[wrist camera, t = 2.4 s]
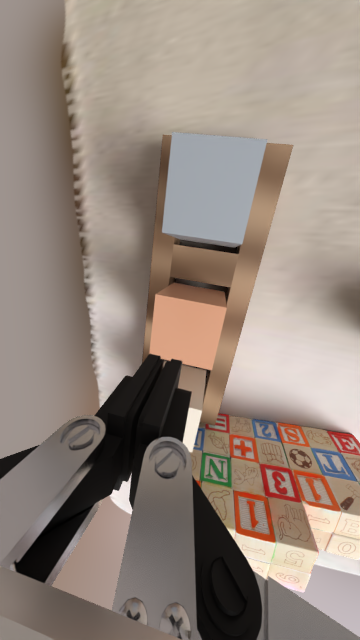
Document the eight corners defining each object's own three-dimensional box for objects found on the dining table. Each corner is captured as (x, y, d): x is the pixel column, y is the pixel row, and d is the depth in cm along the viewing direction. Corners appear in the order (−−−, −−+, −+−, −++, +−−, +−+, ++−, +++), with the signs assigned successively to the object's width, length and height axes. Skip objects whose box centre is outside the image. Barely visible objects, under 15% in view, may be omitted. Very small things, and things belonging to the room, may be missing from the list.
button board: (171, 152, 18) (161, 131, 15) (281, 163, 17) (295, 142, 14) (146, 390, 28) (137, 407, 25) (215, 407, 27) (214, 428, 23)
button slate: (188, 174, 16) (172, 132, 10) (249, 181, 15) (267, 139, 10) (179, 239, 18) (161, 232, 12) (234, 247, 17) (242, 244, 12)
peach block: (173, 282, 19) (155, 294, 14) (224, 291, 18) (226, 307, 13) (167, 328, 21) (149, 355, 15) (213, 338, 20) (211, 370, 15)
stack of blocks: (353, 432, 24) (476, 592, 13) (340, 467, 26) (435, 633, 15) (184, 407, 28) (161, 514, 16) (184, 439, 30) (162, 555, 18)
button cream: (163, 360, 22) (144, 395, 17) (206, 370, 22) (202, 410, 16) (158, 394, 24) (140, 437, 18) (198, 405, 23) (192, 452, 18)
